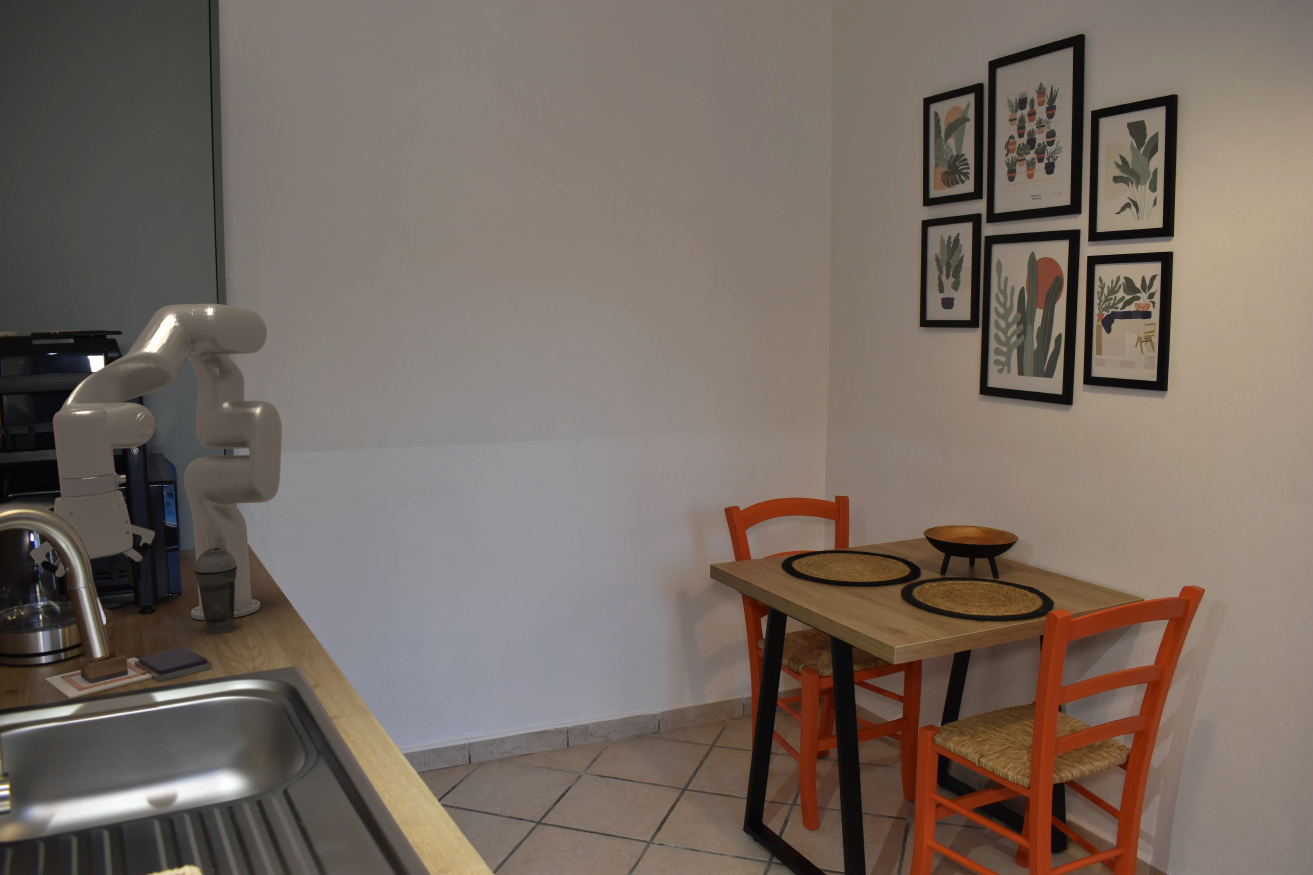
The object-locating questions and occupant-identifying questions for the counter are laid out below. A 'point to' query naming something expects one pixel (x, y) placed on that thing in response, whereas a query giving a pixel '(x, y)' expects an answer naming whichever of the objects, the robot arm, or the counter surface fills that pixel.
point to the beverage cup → (217, 587)
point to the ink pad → (173, 664)
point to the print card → (79, 686)
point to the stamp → (109, 666)
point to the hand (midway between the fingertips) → (100, 591)
